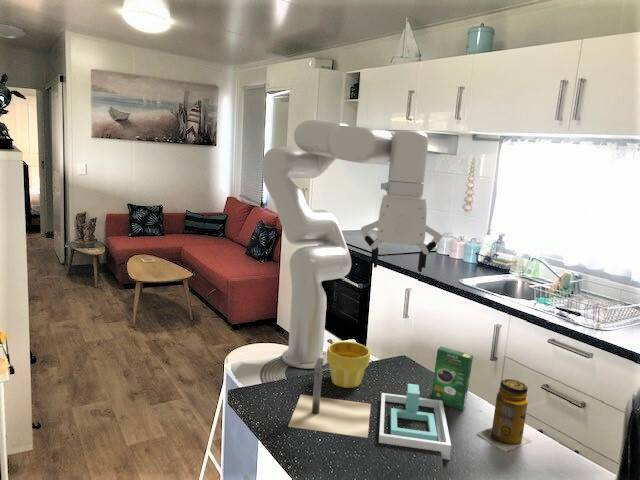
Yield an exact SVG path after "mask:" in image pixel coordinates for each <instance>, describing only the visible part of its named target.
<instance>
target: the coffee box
mask: <svg viewBox="0 0 640 480" xmlns="http://www.w3.org/2000/svg"><path fill="white" fill-rule="evenodd" d="M436 352H437V353H436V357H435V359H436V360H435V363H434V364H435V366H434V373H433V380H432V388H431V394H430V396H431V399H433V400H441V401H442V402H443V406H444V405H445V406H447V407H451V408H453V409H455V410H456V409H457V410H460V411H464V410H465V407H466V404H467V397H468V392H469V384H470V380H471V379H470V378H471V373H472V365H473V358H474V355H473V354H470V353H467V352H462V351H459V350H455V349H453V348H452V349H451V348H448V347H445V346H442V345H440V346H439V347H438V348H437V350H436Z"/></svg>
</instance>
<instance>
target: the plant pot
mask: <svg viewBox="0 0 640 480" xmlns="http://www.w3.org/2000/svg"><path fill="white" fill-rule="evenodd" d="M326 350H327V351H326V354H327V364H328V365H329V371H330V378H331V383H333V385H335V386H337V387H341V388H346V389H347V388H350V389H351V388H357V387H359V385H361V382H362V379H363V377H364V374H365V371H366V368H368V366H369V365H370V356H371V351H370V348H369V347H367V346H365V345H364V344H361V343H358V342H353V341H337V342H336V341H335V342H332V343H331V344H329V345H328V347H327V349H326Z"/></svg>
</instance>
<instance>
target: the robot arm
mask: <svg viewBox="0 0 640 480" xmlns="http://www.w3.org/2000/svg"><path fill="white" fill-rule="evenodd" d="M293 140H294V142H295V144H296V146H276V147H273V148H271V149H269V150H267V151H266V153H265V154H264V156H263V159H262V164H261V165H262V166H261V174H262V179H263V182H264V185H265V187H266V190H267V192H268V194H269V196H270V198H271V199H272V201H273V203H274V206H275V209H276V212H277V215H278V219H279V221H280V225H281V227H282V231H283V234H284V235H285V238H286V240H287V241H288V242H289V244H291V245H295V246H302V245H303V246H302V247H300V248H298V249H296V250H295V251H294V252H292V254H291V256H290V257H289V258H290V259H289V272H290V280H291V297H290V298H291V299H290V316H289V318H290V319H289V332H288V333H289V335H288V349H286V350H284V351H283V352H282V357H281V358H282V361H283V362H284V363H285V364H286V365H288V366H290V367H293V368H297V369H305V370H308V369H309V370H310V369H314V367H315V365H316V362H317V359H318V358H323V359H324V360H323V366H322V367H324V366H326V364H328V362H327V352H325V351H324V343H325V329H326V327H325V326H326V315H327V314H326V312H327V304H328V303H327V294H326V291H325V290H324V288H323V285H322V282H325V281H332V280H337V279H342V278H344V277H346V276H348V275H349V273H350V272H351V268H352V256H351V253H350V250H349V247H348V245H347V242H346V240H345V236H344V233H343V231H342V227H341V226H340V223H339V221H338V219H337V217H336V216H335V215H334V214H333V213H332V212H331V211H328V210H325V209H312V208H310V207H309V205H308V203H307V199H306V197H305V195H304V193H303V191H302V190H301V189H300V188H299V186H298V185H297V184H296V183H295V182H293V180H292V179H314V178H315V179H316V178H318V177H320V176H321V175H323V174H324V173H325V171H326V170H328V168H330V166H331V165H332V164H333V163H335V161H336V160H342V161H347V162H352V163H357V164H374V165H375V164H376V165H385V166H389V169H388V175H387V177H388V178H387V179H388V180H387V181H386V182H384V183H383V182H381V184H380V190H383V191H385V192H386V194H383V197H382V199H381V202H380V207H379V212H378V213H379V214H378V220H376V221H373V222H371V223H368V224H366V225H364V226H361V228H360V232H361V234H362V236H363V238H364V241H365V242H366V243H367V244H368V246H370V249H371V257H370V263H371V264H373V268H375V269H376V268H378V261H379V250H380V248H379V246H380V245H381V244H382V243H387V244H397V245H407V246H408V245H409V246H418V248H419V249H420V252H419V254H418V261H417V263H418V264H417V271H418V272H419V273H422V271H423V269H425V268H426V265H427V264H426V263H427V255H428V254H429V253H430V252H431V251H432V250H433V249H435V248H436V246H437V245H438V244H439V242H440V241H441V240H442V237H443V236H442V233H440V232H438V231H437V230H435V229H434V228H433V227H431V226H429V225H427V213H428V211H427V198H424V197H423V196H424V195H423V193H424V187H425V186H424V184H425V175H426V166H427V165H426V163H427V156H428V145H429V137H428V135H427V134H426V133H424V132H423V131H416V130H415V131H414V130H397V131H394V130H388V129H381V128H373V127H362V126H354V125H353V126H352V125H348V124H346V123H344V122H336V121H335V122H334V121H326V120H325V121H324V120H317V119H309V120H308V119H307V120H305V121H302V122H300V123H299V124H297V126H296V128H295V130H294V132H293ZM291 178H292V179H291ZM374 229H376V238H375V239H373V238H372V237H371V236H370V234H369V232H370V231H372V230H374ZM426 233H427V234H429V235H431V236H432V237H433V238H432V239H431V241H430V242H428V243H427V244H425V239H426ZM305 245H307V246H305ZM308 245H309V246H308Z"/></svg>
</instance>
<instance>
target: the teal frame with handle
mask: <svg viewBox="0 0 640 480" xmlns="http://www.w3.org/2000/svg"><path fill="white" fill-rule="evenodd" d="M420 394H421V392H420V385H419V384H414V383H407V386H406V395H405V396H406V404H404V405H405V409H401V408H395V407H394V408H393V407H391V408H390V435H397V436H404V437H411V438H418V439H425V440H432V441H438V431H437V425H436V419H435V413H432V412H424V411H419V407H420V406H419V398H421V397H420V396H421V395H420ZM400 418H401V419H406V420H413V421H414V420H415V421H422V422H427V428H428V431H424V430H417V429H409V428H402V427H398V419H400Z"/></svg>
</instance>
